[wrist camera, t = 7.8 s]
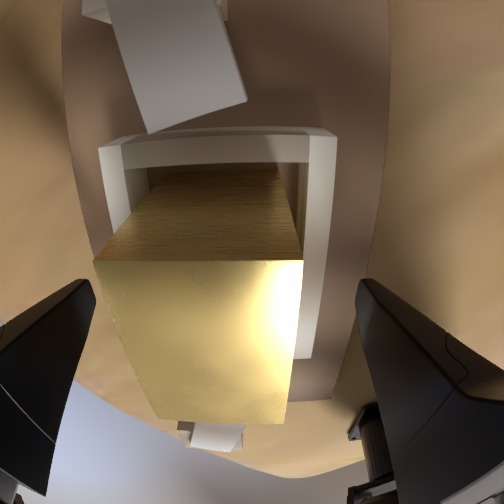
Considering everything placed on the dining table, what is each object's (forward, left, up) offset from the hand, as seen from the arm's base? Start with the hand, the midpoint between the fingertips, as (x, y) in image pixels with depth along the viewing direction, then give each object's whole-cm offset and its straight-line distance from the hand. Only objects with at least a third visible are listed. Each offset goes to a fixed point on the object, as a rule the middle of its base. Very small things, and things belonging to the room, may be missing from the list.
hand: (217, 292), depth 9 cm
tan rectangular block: (0, 0, -3) cm, 3 cm away
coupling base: (0, 0, -4) cm, 4 cm away
